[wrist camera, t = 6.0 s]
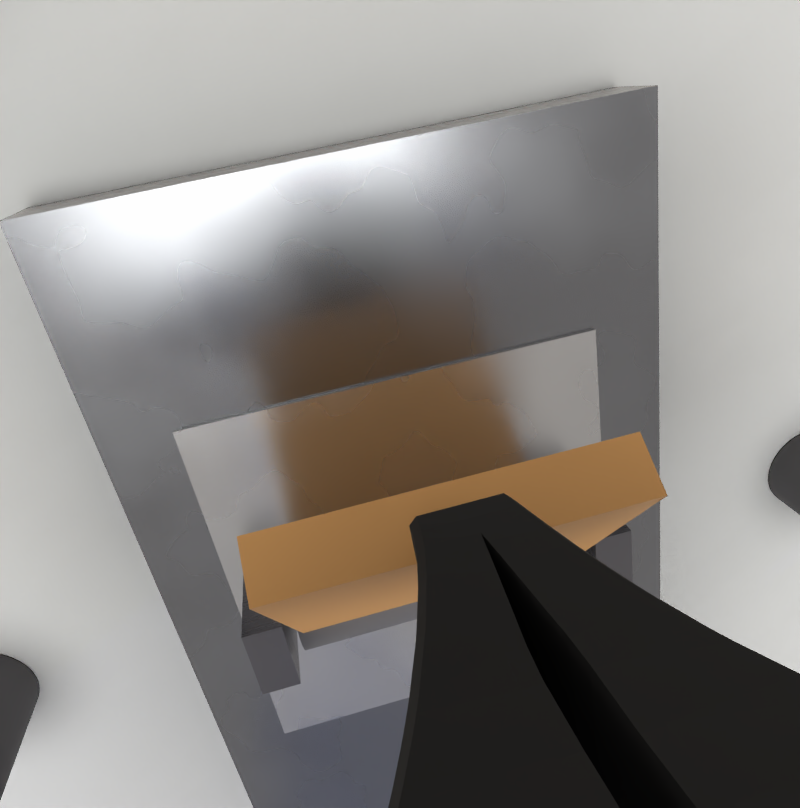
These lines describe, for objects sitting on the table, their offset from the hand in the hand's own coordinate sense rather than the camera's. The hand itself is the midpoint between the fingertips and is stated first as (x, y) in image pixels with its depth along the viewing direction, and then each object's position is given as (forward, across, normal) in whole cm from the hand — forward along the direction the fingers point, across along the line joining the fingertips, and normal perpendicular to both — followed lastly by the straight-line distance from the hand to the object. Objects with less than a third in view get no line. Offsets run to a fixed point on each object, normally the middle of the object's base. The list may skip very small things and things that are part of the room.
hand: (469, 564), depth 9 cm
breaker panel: (+7, 0, +4) cm, 8 cm away
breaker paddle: (+5, 0, +4) cm, 6 cm away
